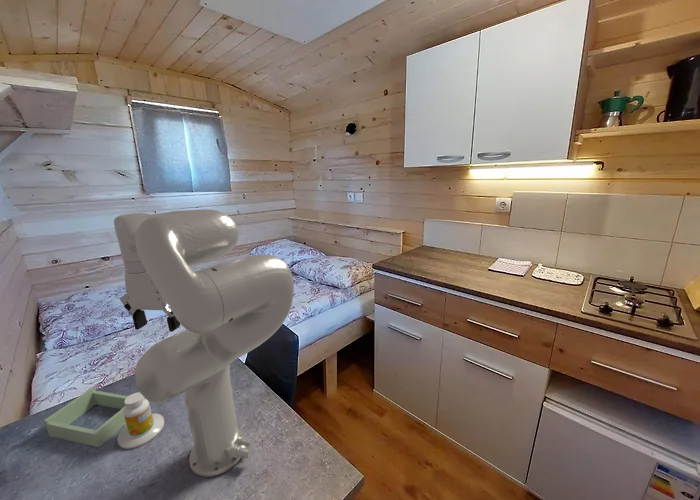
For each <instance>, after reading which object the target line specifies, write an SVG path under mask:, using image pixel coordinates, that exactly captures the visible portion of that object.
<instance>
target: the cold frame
mask: <svg viewBox="0 0 700 500" xmlns="http://www.w3.org/2000/svg"><path fill="white" fill-rule="evenodd" d="M128 396H129V395H124V394H118V393H113V392H108V391H107V392H106V391H102V390H101V391H100V390H96V387H94V386H93V387H90V388H89V389H88V390H86V391H84V392H83V393H82V394H80V395H79V396H77V397H76V398H74V399H73V400H71V401H70V402H68V403H67V404H65V405H64V406H62V407H61V408H60V409H58V410H56V411H55V412H54V413H52V414H51V415H50V416H48V417H47V418H45V419H43V422H44V425H45V427H46V430H47V434H48V436H49V437H52V438H57V439H60V440H65V441H69V442H75V443H78V444H82V445H87V446H92V447H95V448H100V447H101V446H102V445H104V444H105V442H107V441H108V440H109V439H110V438H112V436H114V435H115V434H116V433H117V432H118V431H119V430H120V429H121V428H124V427H125V426H126V425H127V424H126V421H125V417H124V413H123V411H124V409H125V403H124V401H125V399H126V398H127V397H128ZM96 405H97V406H103V407H108V408H114V409H117V410H118V409H119V411H117V412H116V413H115V414H113V416H111V417H110V418H109V419H107V420H106V421H105V422H104V423H102V424H101V425H100V426H99V427H97V429H92V428H88V427H87V428H86V427H83V426H77V425H73V424H72V423H73V422H75V420H77V419H78V418H80V417H81V416H83V415H84V414H85V413H86V412H88V411H89V410H91V409H92V408H93V407H95V406H96ZM123 426H124V427H123Z"/></svg>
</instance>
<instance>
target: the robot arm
mask: <svg viewBox="0 0 700 500" xmlns="http://www.w3.org/2000/svg"><path fill="white" fill-rule="evenodd" d="M113 224H114V225H113V226H114V230H115V233H116V238H117V242H118V246H119V250H120V254H121V257H122V262H123V265H124V270H125V272H124V286H125V291H126V294H124V295H122V296H121V297H119V300H120V302H121V303H122V306H123V307H124V309H125V310H126V311H128V314H129V316H131V317H132V318H131V319H132V321H133V325H134V329H135V330H137V331H139V330H141V329H142V328H143V327H145V326H146V325H148V320H147V316H146V312H145V310H146V311H163V312H164V314H165V315H167V317H166V321H167V327H168V331H169V332H174V331H176V330H177V329H178V328H179V327H181V326H182V327H183V329H184V330H182V331H179V332H178V333H176V334H175V333H174V334H173V335H170V336H169V337H166V338H164V339H162V340H160V341H158V342H157V343H155V344H153V345H151V347H150V348H148V349H147V350H146V351H145V352H144V353H143V354H142V355H141V357H139V359H138V361H137V363H136V365H135V368H134V369H135V370H134V381H135V385H136V388H137V390H138V392H140V393H141V394H142V396H143V397H144V399H147V400H148V401H149V402H152V403H154V404H155V403H156V404H160V403H165V402H167V401H170V400H171V399H173V398H176V397H178V396H179V395H181V394H183V393H184V404H185V408H186V414H187V418H188V422H189V423H188V424H189V426H190V432H191V436H192V441H193V447H192V449H191V450H190V454H189V458H188V461H189V465H190V469H191V471H192V472H193V473H194V474H195V475H197V476H200V477H206V478H208V477H209V478H210V477H215V476H218V475H221V474H224V473H225V472H227V471H229V470H230V469H232V468H233V467H235V465H237V464H238V462H240V460H241V459H247V460H249V459H251V457H252V455H253V449H252V448H251V447H252V445H253V442H254V441H253V439H249V438H247V435H246V432H245V431H244V430H243V429H241V427H239V426H238V425H239V424H238V420H237V414H236V413H237V412H236V408H235V401H234V394H233V388H232V382H231V381H232V380H231V372H230V371H231V368H230V367H231V364H232V363H233V362H235V361H236V360H237V359H239V358H241V357H242V356H245V355H246V354H248V353H250V352H251V351H253V350H255V349H256V348H257V347H259V346H261V345H262V344H263V343H265V342H266V341H267V340H268V339H270V338H271V337H272V336H273V335H275V334H276V332H277V331H279V329H280V327H282V325H283V324H284V322H285V320H286V319H287V318H288V315H289V314H290V311H291V308H292V305H293V301H294V294H295V288H294V283H295V282H294V277H293V274H292V271H291V269H290V266H289V265H288V264H287V262H285V261H284V260H282V259H281V258H279V257H277V256H274V255H269V254H257V255H249V256H244V257H241V258H237V259H233V260H231V261H226V262H223V263H219V264H217V265H213V266H209V267H205V268H203V269H202V268H201V269H199V270H193V269H192V268H191V266H195V265H199V264H202V263H207V262H209V261H213V260H216V259H220V258H222V257H224V256H225V255H228V253H230V252H231V251H232V250H234V248H235V247H236V245H237V243H238V240H239V235H240V233H239V229H238V225H237V224H236V222H235V220H234V219H233V218H232V217H231V216H229V215H228V214H226V213H225V212H224V211H223V212H222V211H219V210H217V209H207V208H206V209H203V208H202V209H191V210H190V209H189V210H174V211H169V212H160V213H153V214H149V213H146V212H145V213H144V212H143V213H142V212H135V213H134V212H133V213H126V214H121V215H118V216H116V217H114V220H113ZM248 447H249V448H248Z"/></svg>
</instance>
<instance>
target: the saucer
mask: <svg viewBox="0 0 700 500" xmlns="http://www.w3.org/2000/svg"><path fill="white" fill-rule="evenodd" d="M152 416H153V420H154V426H153V427H152V429H151V430H150V431H149V432H148V433H146V434H145V435H142V436H140V437H131V436H130V435H129V432H128V428H127V424H125V425H124V427H122V429H121V430H120V432H119V433H118V435H117V444H118V446H119V447H120V448H122V449H124V450H125V449H126V450H131V449H136V448H140V447H142V446H144V445H146V444H148V443H150V442H151V441H153V440H154V439H155V438H156V437H158V436H159V434H160V433H162V431H163V429H164V427H165V418H164V417H163V415H162V414H160V413H153V412H152Z"/></svg>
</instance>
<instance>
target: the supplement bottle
mask: <svg viewBox="0 0 700 500" xmlns="http://www.w3.org/2000/svg"><path fill="white" fill-rule="evenodd" d="M127 396H128V397H127V398H126V399H125V401H124V403H125V409H124V411H123V413H124V417H125V421H126V424H125V425H127V428H128V432H129V435H130V436H131V437H140V436H142V435H145V434H146V433H148V432H149V431H150V430H151V429H152V427H153V426H154V420H153V416H152V414H153V412H152V410H151V409H152V407H151V404H150V401H149V400H147V399H146V398H145V397H143V396H142V394H141V393H140V392H139V391H138V392H134V393H132V394H129V395H127Z"/></svg>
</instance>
